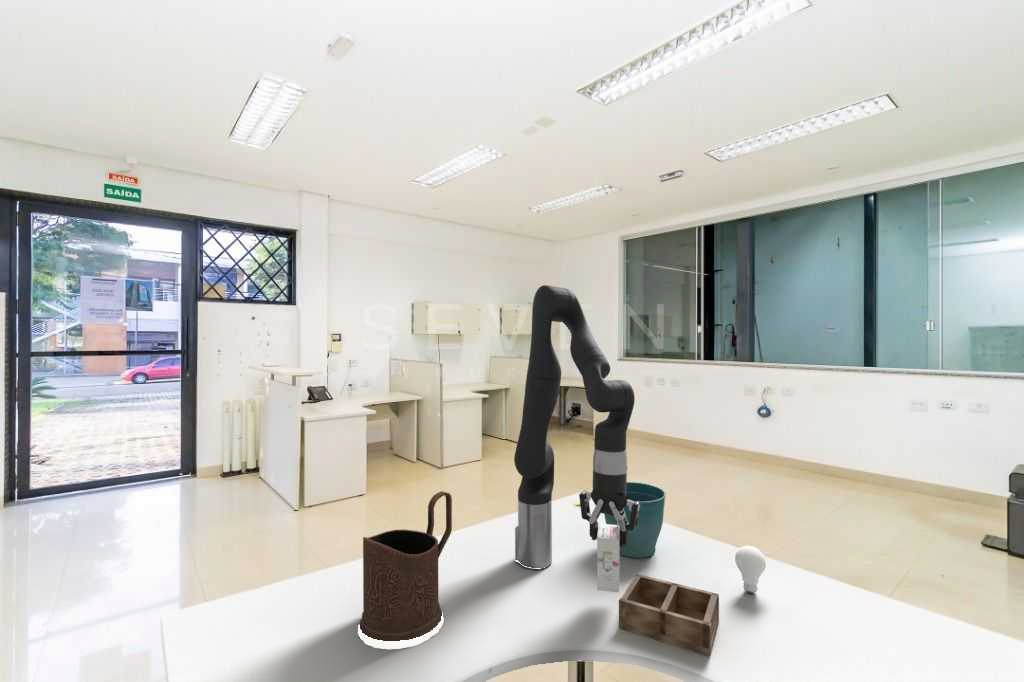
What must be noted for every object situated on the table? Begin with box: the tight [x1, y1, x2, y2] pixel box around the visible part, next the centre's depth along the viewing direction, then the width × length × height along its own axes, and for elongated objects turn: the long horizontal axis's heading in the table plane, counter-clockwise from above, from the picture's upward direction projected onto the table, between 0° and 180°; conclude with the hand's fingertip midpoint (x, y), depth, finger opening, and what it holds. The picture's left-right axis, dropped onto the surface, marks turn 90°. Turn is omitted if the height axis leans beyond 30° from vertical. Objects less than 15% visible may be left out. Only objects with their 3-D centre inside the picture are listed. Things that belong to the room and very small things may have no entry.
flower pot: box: [603, 481, 667, 559], centre depth 138 cm, size 18×18×17 cm
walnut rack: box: [618, 573, 720, 658], centre depth 101 cm, size 18×13×6 cm
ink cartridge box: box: [596, 522, 621, 593], centre depth 108 cm, size 9×5×15 cm, turn 168°
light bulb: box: [734, 545, 767, 594], centre depth 114 cm, size 7×7×11 cm
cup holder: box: [359, 491, 453, 641], centre depth 105 cm, size 18×24×25 cm
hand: (608, 542), depth 108 cm, fingers closed on ink cartridge box, 6 cm apart
